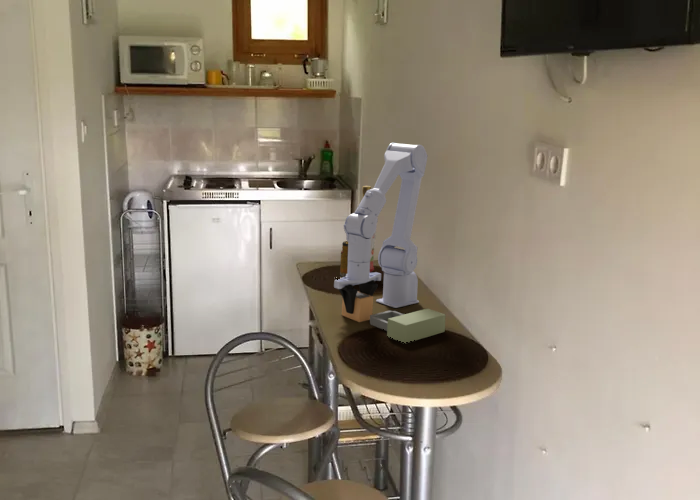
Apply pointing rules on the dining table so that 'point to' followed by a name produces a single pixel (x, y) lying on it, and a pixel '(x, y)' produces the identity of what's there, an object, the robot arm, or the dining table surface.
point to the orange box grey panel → (360, 308)
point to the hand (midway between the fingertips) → (357, 310)
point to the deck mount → (410, 324)
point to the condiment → (344, 259)
